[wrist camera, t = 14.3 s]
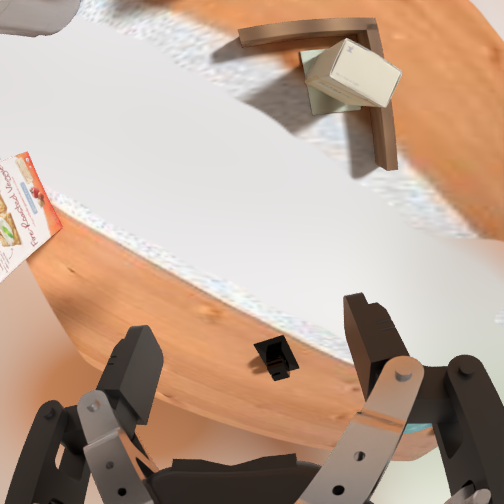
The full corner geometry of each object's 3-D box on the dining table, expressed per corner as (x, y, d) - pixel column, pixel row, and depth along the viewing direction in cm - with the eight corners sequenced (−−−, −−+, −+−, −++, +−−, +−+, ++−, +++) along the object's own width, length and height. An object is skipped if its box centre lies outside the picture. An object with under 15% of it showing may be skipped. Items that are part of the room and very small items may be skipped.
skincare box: (303, 83, 34) (324, 76, 23) (317, 53, 32) (344, 35, 21) (348, 106, 35) (386, 110, 24) (361, 77, 33) (404, 71, 22)
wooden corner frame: (269, 180, 40) (271, 188, 36) (239, 36, 31) (237, 29, 28) (385, 162, 38) (397, 169, 35) (364, 24, 30) (375, 17, 26)
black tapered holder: (245, 337, 53) (245, 356, 49) (286, 325, 52) (288, 344, 47) (270, 378, 58) (271, 397, 54) (306, 369, 57) (309, 387, 53)
